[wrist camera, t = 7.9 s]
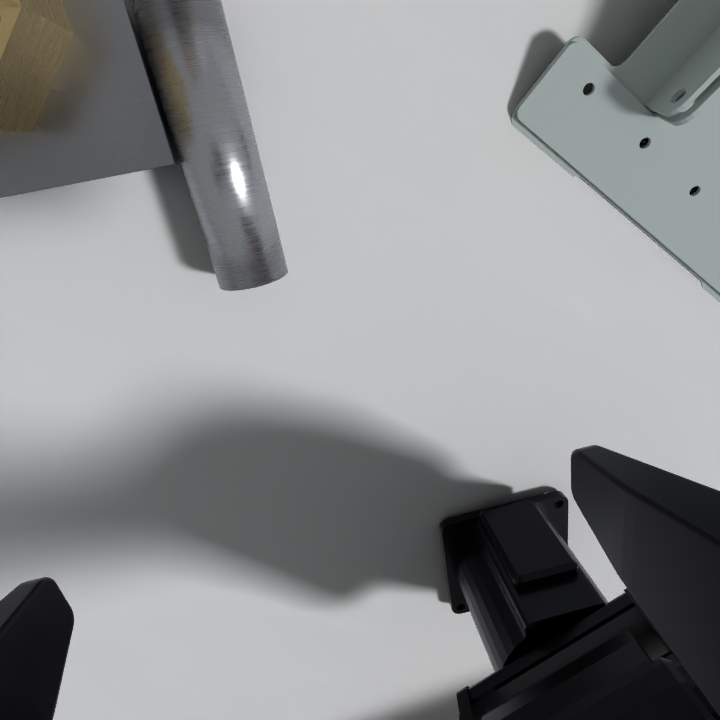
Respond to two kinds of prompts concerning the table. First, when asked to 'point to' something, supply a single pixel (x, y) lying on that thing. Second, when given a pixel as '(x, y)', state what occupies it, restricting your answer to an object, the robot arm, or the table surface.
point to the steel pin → (213, 137)
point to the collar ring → (29, 59)
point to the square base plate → (93, 109)
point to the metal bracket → (643, 131)
